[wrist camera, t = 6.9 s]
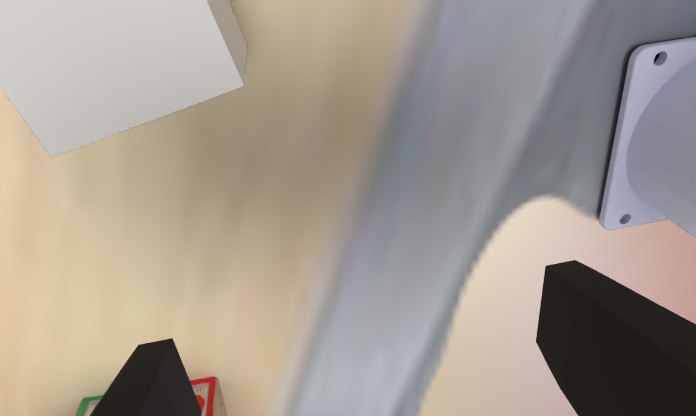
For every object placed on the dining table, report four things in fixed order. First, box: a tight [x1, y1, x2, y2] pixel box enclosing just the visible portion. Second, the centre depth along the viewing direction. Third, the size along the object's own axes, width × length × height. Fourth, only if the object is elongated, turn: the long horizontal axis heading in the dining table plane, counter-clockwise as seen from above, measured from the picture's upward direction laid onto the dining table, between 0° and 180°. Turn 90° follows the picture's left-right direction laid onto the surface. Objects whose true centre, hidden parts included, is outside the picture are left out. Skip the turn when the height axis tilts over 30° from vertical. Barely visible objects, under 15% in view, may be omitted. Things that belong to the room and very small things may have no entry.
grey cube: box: [0, 0, 248, 158], centre depth 12 cm, size 5×5×5 cm
